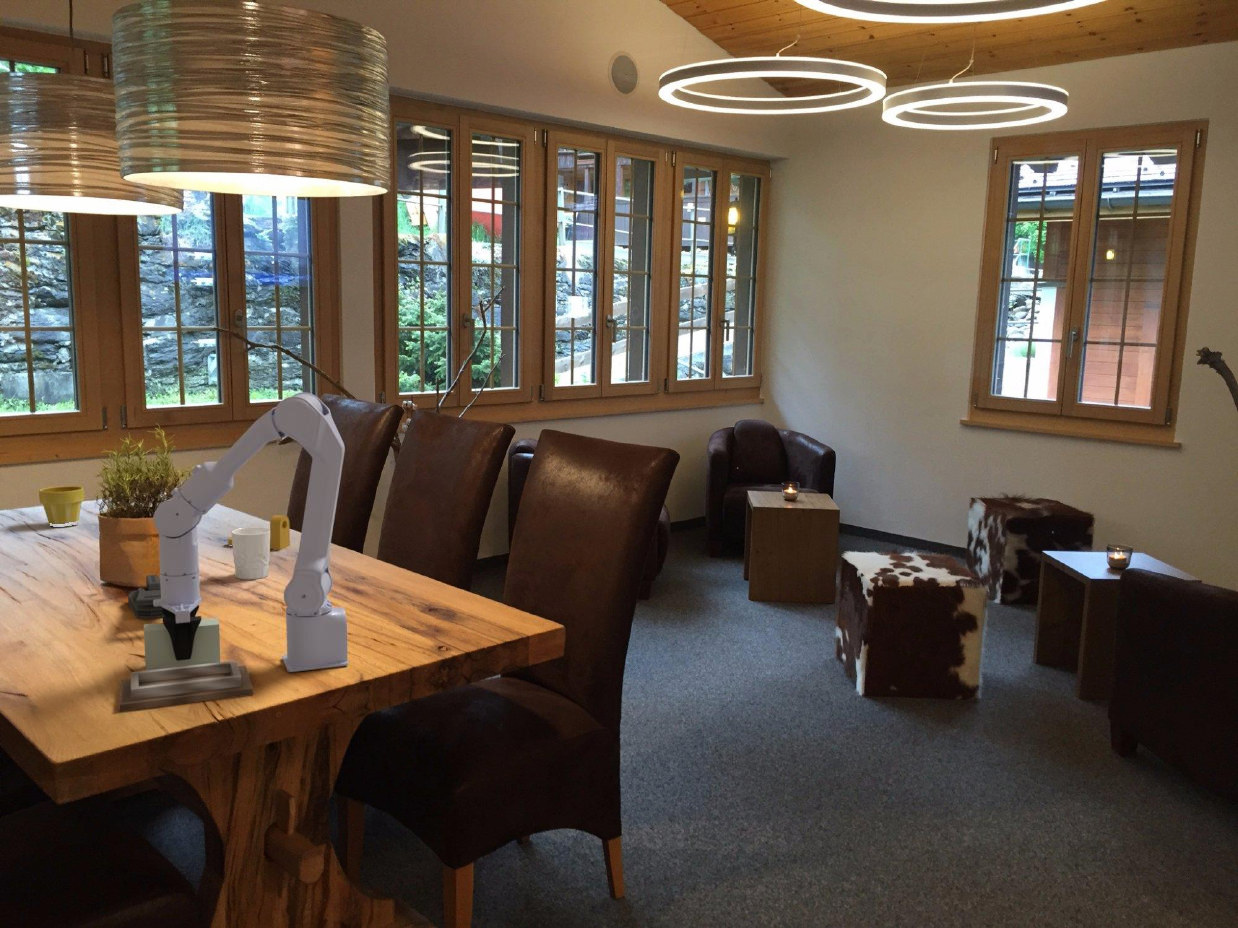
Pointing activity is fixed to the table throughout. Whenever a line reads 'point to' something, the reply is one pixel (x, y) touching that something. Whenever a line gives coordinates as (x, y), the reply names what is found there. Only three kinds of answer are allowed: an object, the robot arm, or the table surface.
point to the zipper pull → (146, 599)
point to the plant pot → (62, 503)
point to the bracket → (277, 533)
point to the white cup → (251, 552)
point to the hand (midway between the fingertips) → (182, 654)
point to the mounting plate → (184, 685)
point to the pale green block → (161, 647)
